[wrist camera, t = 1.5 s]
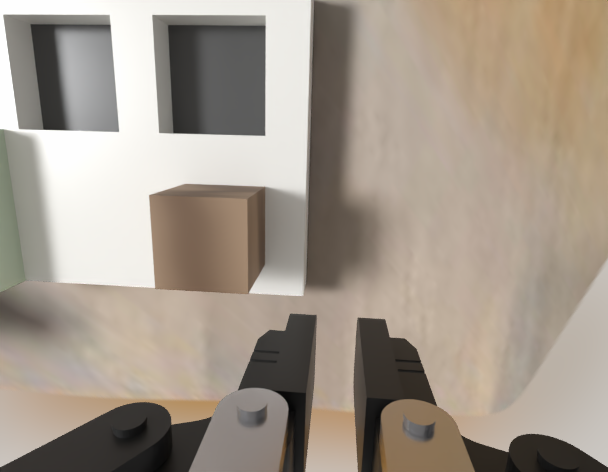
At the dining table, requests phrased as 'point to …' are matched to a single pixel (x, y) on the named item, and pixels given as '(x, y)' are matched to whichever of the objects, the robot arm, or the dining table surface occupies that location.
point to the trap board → (148, 129)
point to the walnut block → (208, 237)
